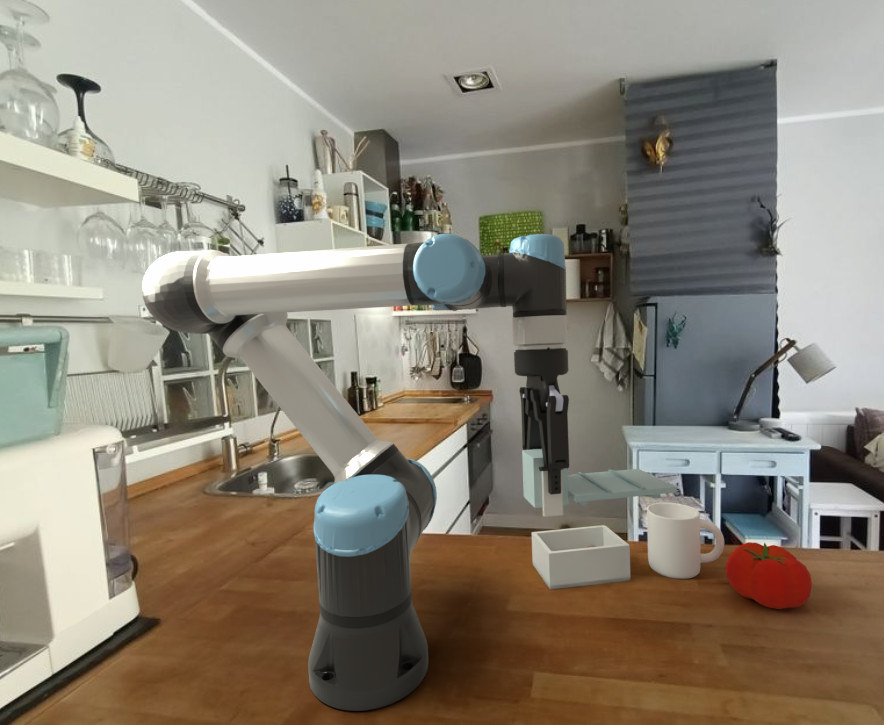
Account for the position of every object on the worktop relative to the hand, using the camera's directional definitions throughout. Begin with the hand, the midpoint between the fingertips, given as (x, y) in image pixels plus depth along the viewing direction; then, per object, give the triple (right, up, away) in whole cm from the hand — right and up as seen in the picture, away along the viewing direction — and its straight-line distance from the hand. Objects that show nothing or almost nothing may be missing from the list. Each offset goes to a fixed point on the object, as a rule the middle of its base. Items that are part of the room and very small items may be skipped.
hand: (545, 507), depth 70 cm
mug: (+27, -15, +14) cm, 34 cm away
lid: (+7, +1, +1) cm, 8 cm away
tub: (+9, -16, +15) cm, 23 cm away
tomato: (+35, -15, +4) cm, 38 cm away
